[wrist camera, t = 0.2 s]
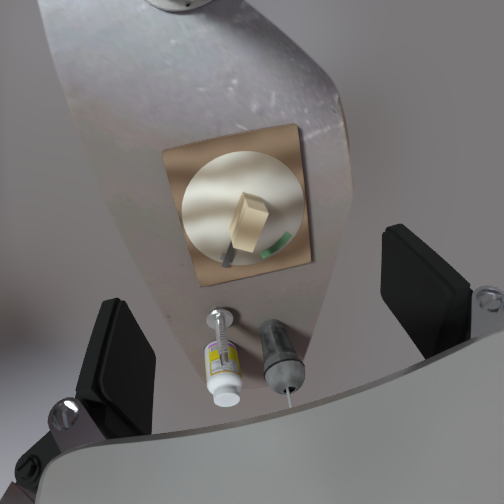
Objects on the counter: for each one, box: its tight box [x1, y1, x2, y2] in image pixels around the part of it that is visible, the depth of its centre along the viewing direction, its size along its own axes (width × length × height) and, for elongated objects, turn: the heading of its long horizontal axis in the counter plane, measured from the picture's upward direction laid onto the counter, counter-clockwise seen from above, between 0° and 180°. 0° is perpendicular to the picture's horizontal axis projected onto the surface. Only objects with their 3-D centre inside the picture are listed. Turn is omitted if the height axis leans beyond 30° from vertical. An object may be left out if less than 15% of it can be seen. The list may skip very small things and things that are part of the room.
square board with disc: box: [161, 124, 311, 287], centre depth 47 cm, size 23×19×2 cm
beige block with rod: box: [222, 192, 269, 268], centre depth 45 cm, size 12×3×6 cm, turn 159°
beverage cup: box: [260, 320, 305, 408], centre depth 53 cm, size 7×7×20 cm
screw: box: [206, 307, 233, 367], centre depth 52 cm, size 13×5×5 cm
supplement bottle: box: [204, 341, 243, 407], centre depth 57 cm, size 7×7×13 cm
